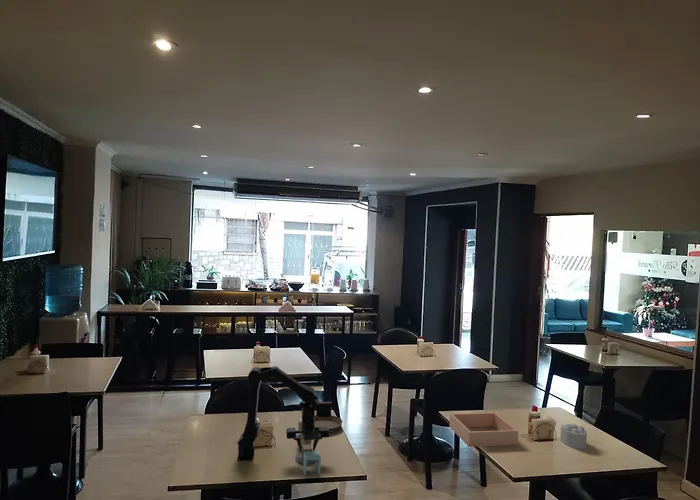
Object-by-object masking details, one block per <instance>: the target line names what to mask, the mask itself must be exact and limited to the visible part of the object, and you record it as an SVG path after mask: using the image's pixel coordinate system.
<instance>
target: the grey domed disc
mask: <svg viewBox="0 0 700 500" xmlns="http://www.w3.org/2000/svg"><path fill="white" fill-rule="evenodd" d="M295 460H296V462H298V463H299V464H303V456H302V451H301V452H300V451H299V452H298V453H296V455H295ZM314 463H317V460H307V465H309V464H314Z"/></svg>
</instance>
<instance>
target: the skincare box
mask: <svg viewBox="0 0 700 500" xmlns="http://www.w3.org/2000/svg"><path fill="white" fill-rule="evenodd" d="M297 424H298V426H297V430H301V427H302V418H298V423H297ZM300 440H301V448H302V447H303V445H312V441H313V440H304V439H303V435H300ZM296 443H297V442H296ZM297 447H298V448H299V446H298V443H297Z"/></svg>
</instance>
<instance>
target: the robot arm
mask: <svg viewBox="0 0 700 500" xmlns="http://www.w3.org/2000/svg"><path fill="white" fill-rule="evenodd" d="M271 378H274V379H275V380H277V381H278V382H279V383H281V384H283V385H284V386H286V387H287V388H289V390H291V391H293V392H294V393H295V394H296V395H297V397H298V398H299V399H300V400H301V401H300V402H299V403H298V404H297V408H299V409H301V419H302V427H301V430H298V429H296V427H287V428H286V430H285V433H286V439H287V440H289V439H291V440H293V441H296V443H298V445H297V447H298V446H299V447H298V448H299V452H302V447H301V440H300V435H303V439H304V440H312V441H313V443H312V444H313V445H312V451H316V447H317V444H318V443H319V441H320V440H322V439H323V438H324V439H325V438H330V432H329V429H328V427H315V426H314V422H315V415H317V417H319V418H331V415H332V402H331V401H320V399H319V397H318V396H317V395H316V390H315V388H313V387H312V386H309V385H307V384H303V383H301V382H299V381H298V380H296V378H293V377H292V376H290V375H289V374H287V373H286V372H285V371H284V370H282V369H280V368H279V367H278V366H269V367H268V366H267V367H265V366H263V367H259V366H254V367H253V368H251V369H250V372H248V376H247V382H248V387H249V394H248V395H249V397H248V407H247V409H248V410H247V418H246V420H247V421H246V423H245V427H244V431H243V433H242V434H241V435H240V437H239V439H238V441H237V446H238V452H237V453H238V454H237V455H238V456H237V461H253V459H254V457H255V445H254V442H255V441H256V438H257V437H259V434H260V426H261V422H258V420H257V419H258V417H257V414H258V405H259V394H260V387H261V383H262V381H265V380H269V379H271Z"/></svg>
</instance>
